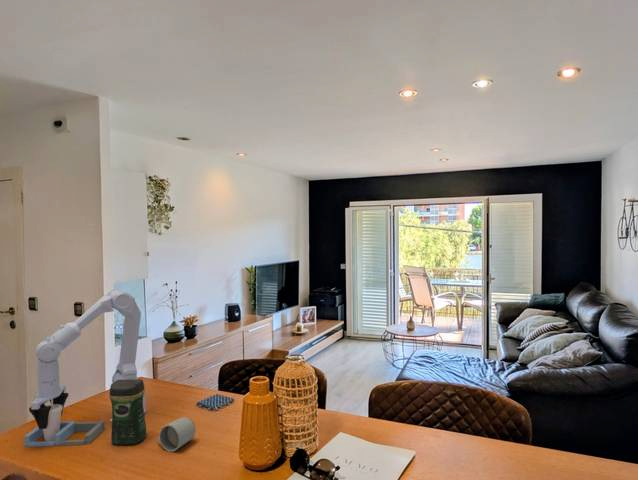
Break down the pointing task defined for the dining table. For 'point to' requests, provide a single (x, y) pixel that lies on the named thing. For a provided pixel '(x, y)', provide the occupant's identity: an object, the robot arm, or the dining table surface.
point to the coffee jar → (127, 412)
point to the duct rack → (66, 434)
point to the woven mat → (215, 402)
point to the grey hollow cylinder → (176, 434)
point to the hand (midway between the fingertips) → (50, 422)
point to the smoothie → (53, 422)
